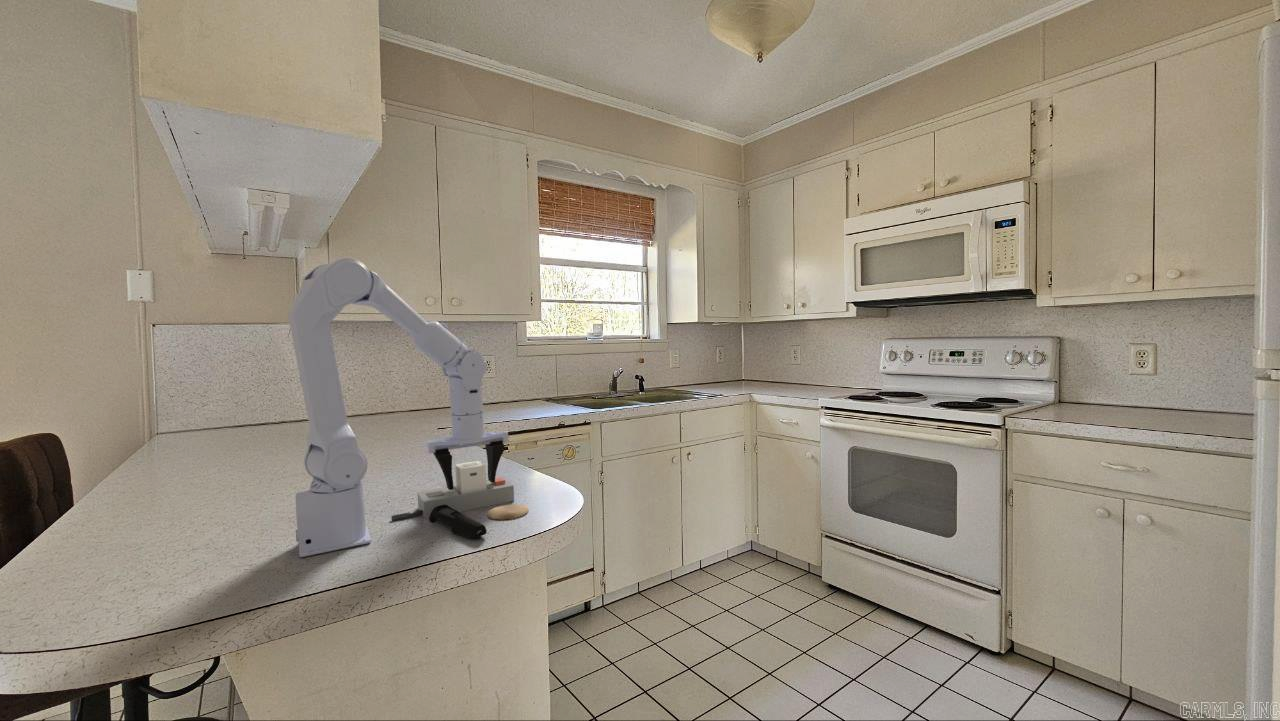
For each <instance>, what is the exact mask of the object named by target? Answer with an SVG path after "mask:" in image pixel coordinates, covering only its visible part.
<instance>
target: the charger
mask: <svg viewBox="0 0 1280 721" xmlns="http://www.w3.org/2000/svg"><path fill="white" fill-rule="evenodd" d="M454 467H455V471H454V472H455V486H456V489H457V493H458V494H464V493H470V492H475V491H481V490H486V489H487V488H486V480H487V473H486V471H487V470H486V465H485V464H484V463H483V462H481V460H476V461H475V460H474V461H468V462H461V463H455V464H454Z"/></svg>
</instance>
